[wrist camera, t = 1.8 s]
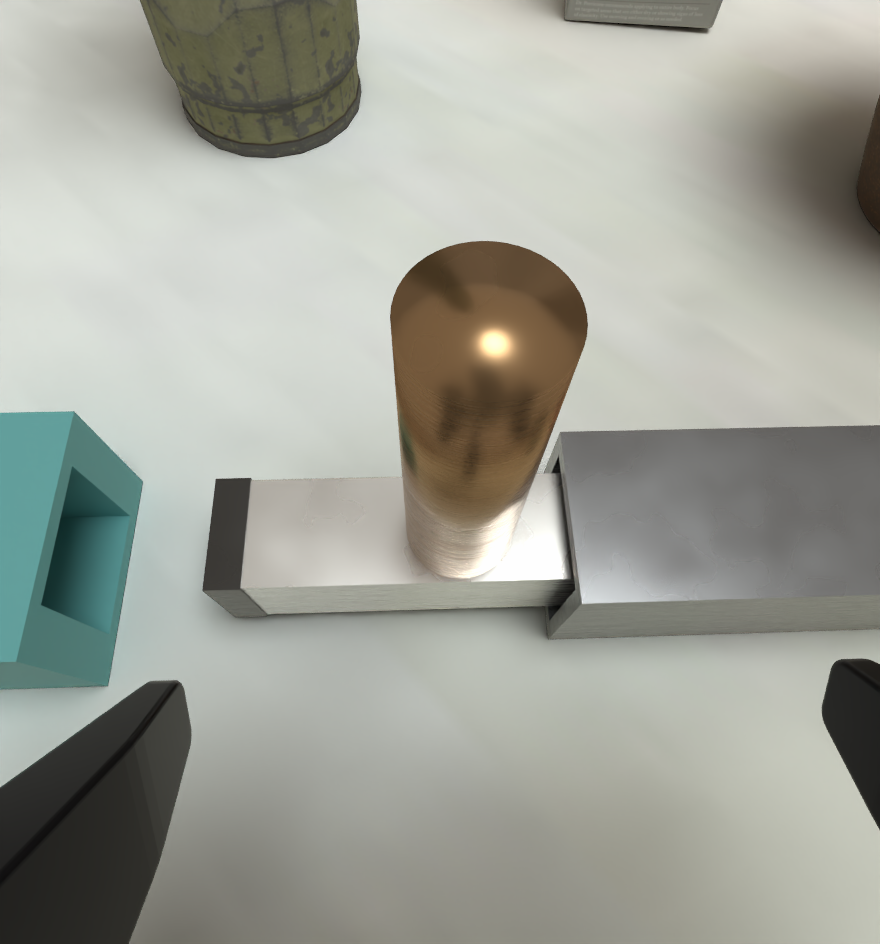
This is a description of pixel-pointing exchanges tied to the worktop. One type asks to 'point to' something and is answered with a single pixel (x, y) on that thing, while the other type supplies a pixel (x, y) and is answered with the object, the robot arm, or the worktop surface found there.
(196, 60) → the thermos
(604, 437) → the grey rectangular metal block
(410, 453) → the bronze post on bar
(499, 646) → the worktop surface
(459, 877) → the worktop surface
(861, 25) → the worktop surface
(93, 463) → the socket
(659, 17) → the skincare box
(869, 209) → the plant pot
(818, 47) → the worktop surface
